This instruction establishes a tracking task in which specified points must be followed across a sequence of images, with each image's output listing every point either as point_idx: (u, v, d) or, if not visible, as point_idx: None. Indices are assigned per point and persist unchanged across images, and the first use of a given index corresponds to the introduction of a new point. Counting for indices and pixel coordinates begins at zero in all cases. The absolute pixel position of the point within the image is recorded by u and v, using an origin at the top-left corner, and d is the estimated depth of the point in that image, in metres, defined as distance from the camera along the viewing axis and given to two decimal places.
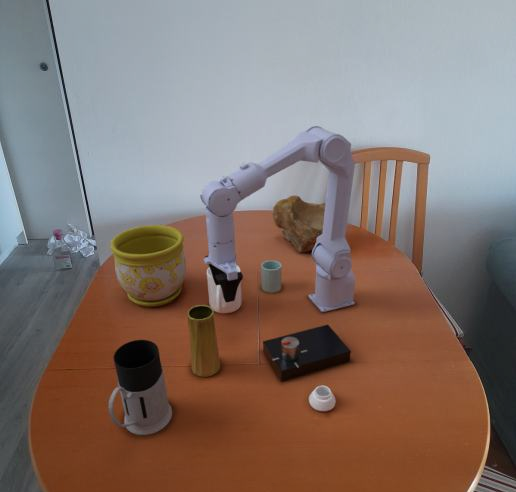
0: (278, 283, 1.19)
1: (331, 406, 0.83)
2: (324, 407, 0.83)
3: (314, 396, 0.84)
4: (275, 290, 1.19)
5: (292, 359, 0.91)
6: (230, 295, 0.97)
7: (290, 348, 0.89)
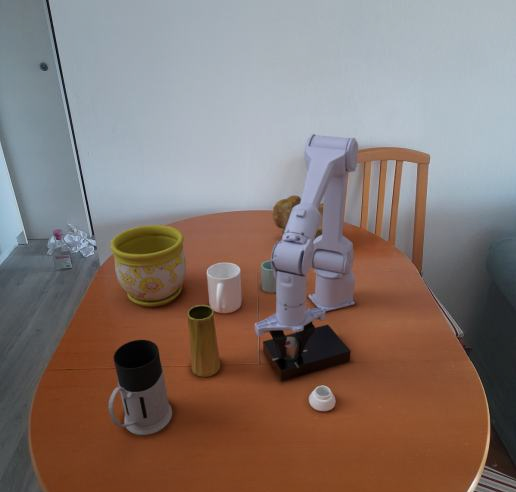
0: None
1: (331, 406, 0.83)
2: (324, 407, 0.83)
3: (314, 396, 0.84)
4: (275, 290, 1.19)
5: (292, 359, 0.91)
6: None
7: (290, 348, 0.89)
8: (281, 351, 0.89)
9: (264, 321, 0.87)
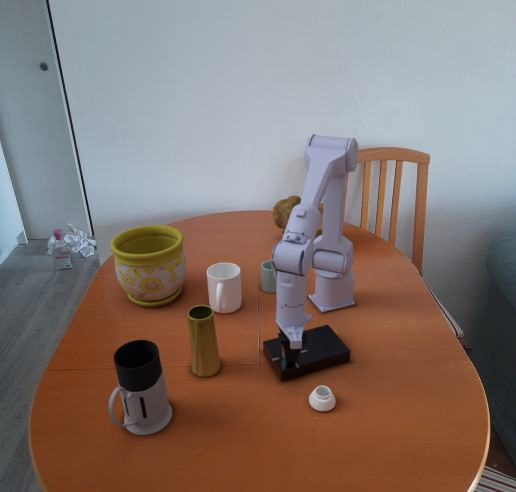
0: None
1: (331, 406, 0.83)
2: (324, 407, 0.83)
3: (314, 396, 0.84)
4: (275, 290, 1.19)
5: None
6: None
7: None
8: None
9: (289, 335, 0.83)
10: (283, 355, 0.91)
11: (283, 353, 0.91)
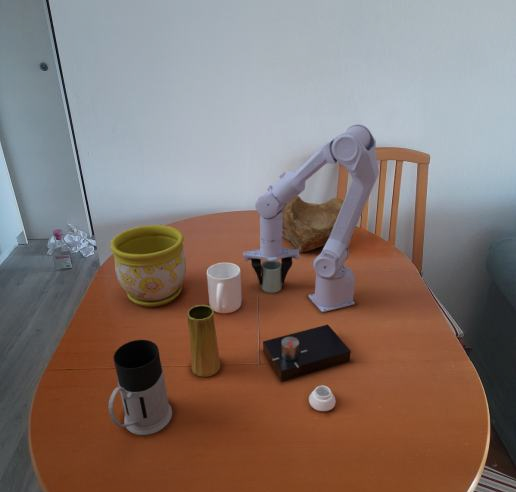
0: (278, 283, 1.19)
1: (331, 406, 0.83)
2: (324, 407, 0.83)
3: (314, 396, 0.84)
4: (275, 290, 1.19)
5: (298, 354, 0.92)
6: None
7: (298, 344, 0.91)
8: (258, 277, 1.18)
9: (251, 251, 1.17)
10: (283, 355, 0.91)
11: (283, 353, 0.91)
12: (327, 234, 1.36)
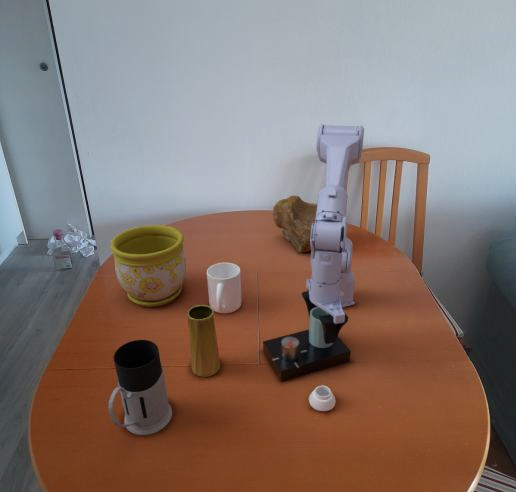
0: None
1: (331, 406, 0.83)
2: (324, 407, 0.83)
3: (314, 396, 0.84)
4: None
5: (298, 354, 0.92)
6: None
7: (298, 344, 0.91)
8: None
9: None
10: (283, 355, 0.91)
11: (283, 353, 0.91)
12: None
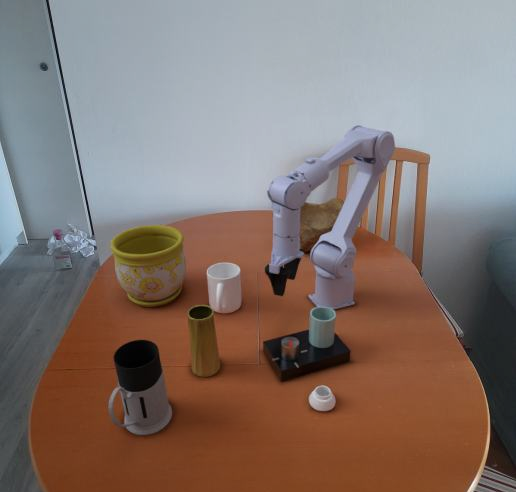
0: None
1: (331, 406, 0.83)
2: (324, 407, 0.83)
3: (314, 396, 0.84)
4: None
5: (298, 354, 0.92)
6: None
7: (298, 344, 0.91)
8: (284, 287, 0.97)
9: (272, 261, 0.94)
10: (283, 355, 0.91)
11: (283, 353, 0.91)
12: None
